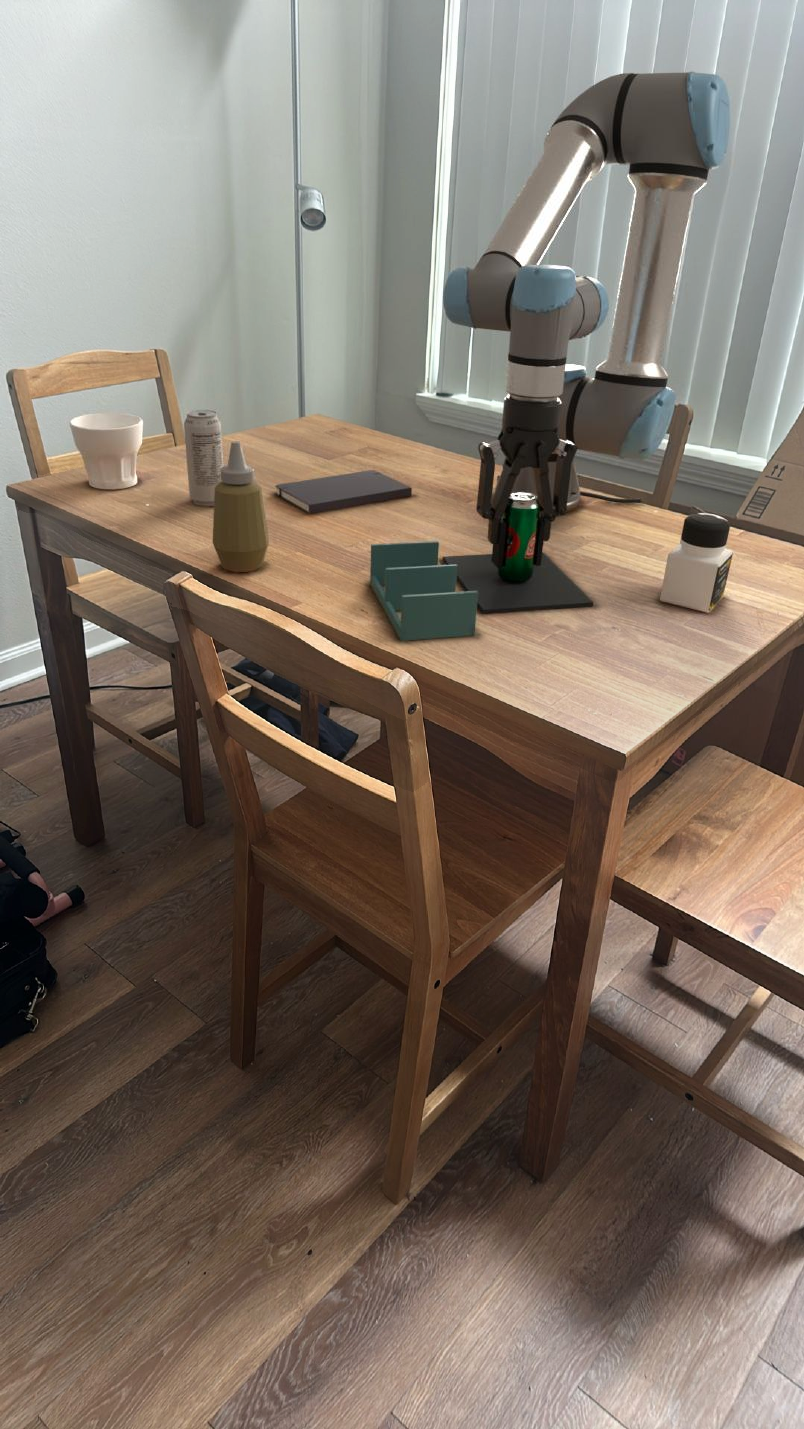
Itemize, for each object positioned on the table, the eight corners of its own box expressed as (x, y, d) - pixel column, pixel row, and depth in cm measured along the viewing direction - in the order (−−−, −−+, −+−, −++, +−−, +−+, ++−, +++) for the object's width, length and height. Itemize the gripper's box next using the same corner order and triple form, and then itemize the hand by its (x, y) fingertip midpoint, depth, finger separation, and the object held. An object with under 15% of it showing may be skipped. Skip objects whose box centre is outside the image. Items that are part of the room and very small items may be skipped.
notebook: (309, 513, 160) (411, 495, 171) (308, 504, 160) (412, 487, 170) (273, 493, 169) (373, 477, 180) (273, 484, 169) (373, 469, 179)
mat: (541, 554, 147) (541, 551, 147) (593, 606, 131) (593, 602, 130) (442, 560, 144) (442, 556, 144) (482, 613, 127) (483, 609, 127)
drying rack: (435, 580, 137) (438, 540, 134) (474, 635, 121) (478, 592, 118) (370, 584, 135) (370, 543, 132) (401, 641, 119) (402, 597, 116)
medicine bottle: (709, 614, 130) (727, 529, 124) (658, 601, 133) (674, 518, 127) (723, 597, 135) (741, 515, 129) (674, 585, 138) (690, 505, 132)
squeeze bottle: (224, 579, 134) (216, 452, 125) (206, 560, 140) (198, 437, 131) (278, 571, 138) (274, 447, 129) (258, 553, 144) (253, 433, 135)
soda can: (530, 586, 134) (539, 503, 128) (495, 582, 135) (502, 499, 129) (533, 573, 139) (542, 492, 133) (499, 569, 139) (506, 489, 133)
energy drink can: (222, 495, 168) (217, 408, 160) (228, 505, 163) (222, 416, 155) (187, 497, 166) (180, 409, 158) (192, 508, 161) (185, 418, 153)
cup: (163, 481, 173) (157, 419, 168) (111, 497, 164) (103, 433, 159) (115, 469, 179) (108, 409, 173) (62, 484, 170) (53, 421, 164)
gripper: (585, 389, 129) (565, 551, 141) (458, 390, 125) (448, 557, 137) (608, 401, 123) (585, 569, 135) (475, 403, 119) (463, 576, 131)
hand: (516, 563), depth 136 cm, fingers closed on soda can, 5 cm apart
